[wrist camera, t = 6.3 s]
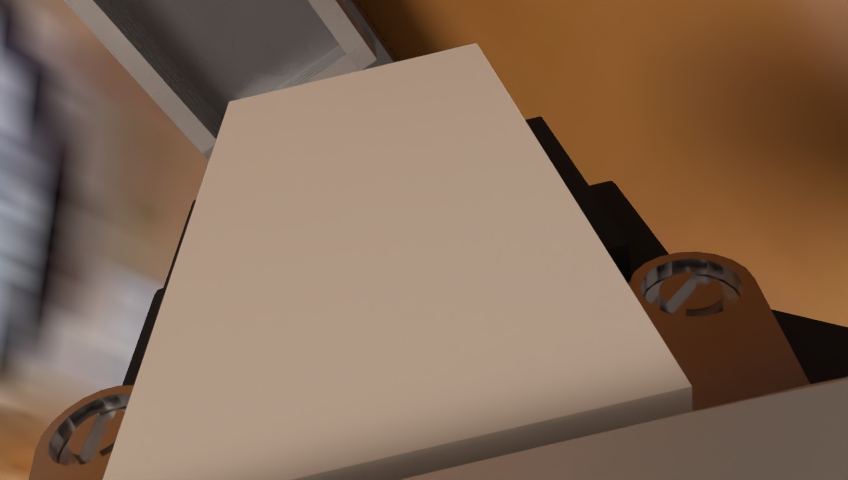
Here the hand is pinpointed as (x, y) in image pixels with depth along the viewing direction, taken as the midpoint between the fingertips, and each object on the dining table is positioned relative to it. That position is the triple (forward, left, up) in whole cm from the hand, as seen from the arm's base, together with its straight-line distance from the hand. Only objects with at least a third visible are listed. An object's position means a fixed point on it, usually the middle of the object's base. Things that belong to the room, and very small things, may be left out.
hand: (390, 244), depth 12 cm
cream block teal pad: (0, 0, -1) cm, 1 cm away
